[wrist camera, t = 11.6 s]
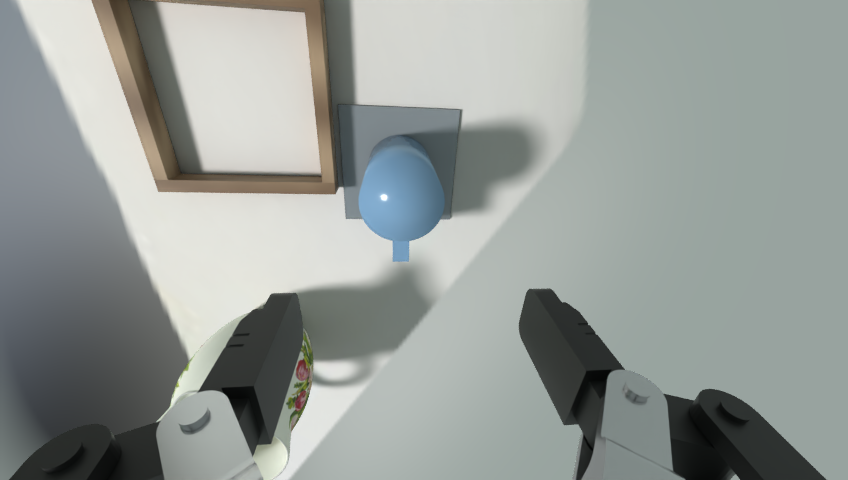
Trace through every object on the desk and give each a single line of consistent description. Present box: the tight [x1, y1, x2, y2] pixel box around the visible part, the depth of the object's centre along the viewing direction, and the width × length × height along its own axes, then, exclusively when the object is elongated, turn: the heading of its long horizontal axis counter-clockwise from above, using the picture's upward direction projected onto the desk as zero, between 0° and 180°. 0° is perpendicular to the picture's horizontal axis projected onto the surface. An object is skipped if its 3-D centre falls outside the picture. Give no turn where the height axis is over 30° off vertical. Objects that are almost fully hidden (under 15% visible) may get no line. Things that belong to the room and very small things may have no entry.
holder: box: [92, 0, 338, 194], centre depth 24 cm, size 14×14×2 cm
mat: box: [338, 104, 460, 219], centre depth 28 cm, size 10×10×1 cm
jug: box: [359, 135, 445, 262], centre depth 25 cm, size 8×6×9 cm
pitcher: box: [157, 313, 313, 480], centre depth 30 cm, size 11×18×14 cm, turn 172°
